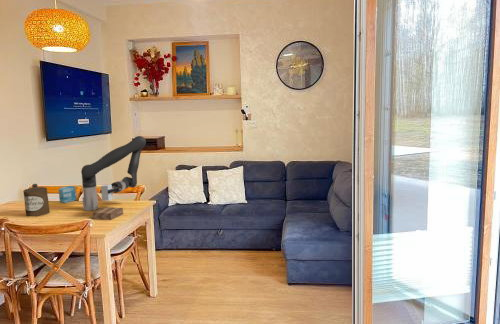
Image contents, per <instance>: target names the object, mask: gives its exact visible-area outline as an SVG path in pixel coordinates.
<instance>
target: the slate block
mask: <svg viewBox="0 0 500 324" xmlns="http://www.w3.org/2000/svg"><path fill="white" fill-rule="evenodd" d="M110 189H112V185H111V184H102V185H100V190H101V193H100V194H101V201H105V202H106V201H111V200H113V193H112V192H111V193H108V190H110Z"/></svg>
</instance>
